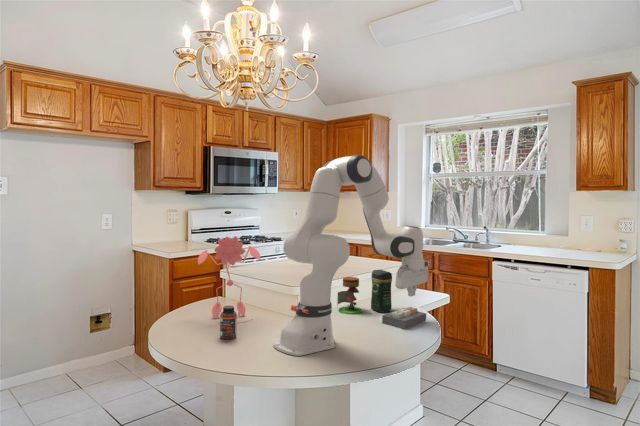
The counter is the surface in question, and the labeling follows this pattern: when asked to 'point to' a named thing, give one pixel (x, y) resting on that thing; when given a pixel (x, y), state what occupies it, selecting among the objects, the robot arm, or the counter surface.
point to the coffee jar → (381, 291)
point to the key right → (412, 310)
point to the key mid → (405, 312)
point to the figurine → (229, 254)
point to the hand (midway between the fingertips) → (411, 295)
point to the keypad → (404, 320)
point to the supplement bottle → (228, 323)
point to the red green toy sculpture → (349, 296)
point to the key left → (398, 315)
